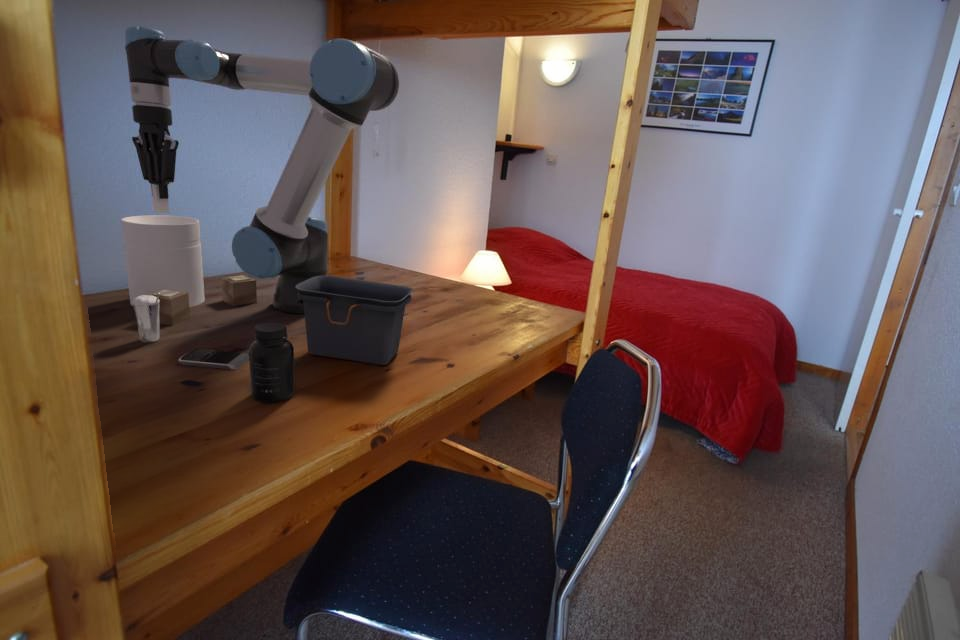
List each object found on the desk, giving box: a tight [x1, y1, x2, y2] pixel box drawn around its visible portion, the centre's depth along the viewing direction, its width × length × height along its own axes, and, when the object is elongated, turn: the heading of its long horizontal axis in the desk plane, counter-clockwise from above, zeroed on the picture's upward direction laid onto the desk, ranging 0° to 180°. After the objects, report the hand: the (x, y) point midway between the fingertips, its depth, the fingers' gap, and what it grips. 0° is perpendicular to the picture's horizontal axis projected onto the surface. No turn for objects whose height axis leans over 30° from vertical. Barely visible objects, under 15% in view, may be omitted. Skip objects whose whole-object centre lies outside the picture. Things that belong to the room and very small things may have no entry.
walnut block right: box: [221, 275, 258, 307], centre depth 136 cm, size 6×6×6 cm
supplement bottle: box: [248, 322, 296, 404], centre depth 87 cm, size 7×7×12 cm
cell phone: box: [177, 348, 249, 370], centre depth 100 cm, size 6×11×1 cm, turn 88°
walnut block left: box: [149, 290, 191, 326], centre depth 118 cm, size 6×6×6 cm
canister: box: [120, 214, 206, 308], centre depth 129 cm, size 16×16×20 cm
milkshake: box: [132, 294, 161, 343], centre depth 106 cm, size 4×5×10 cm
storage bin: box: [295, 274, 414, 366], centre depth 106 cm, size 21×16×14 cm
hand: (161, 212), depth 126 cm, fingers closed
